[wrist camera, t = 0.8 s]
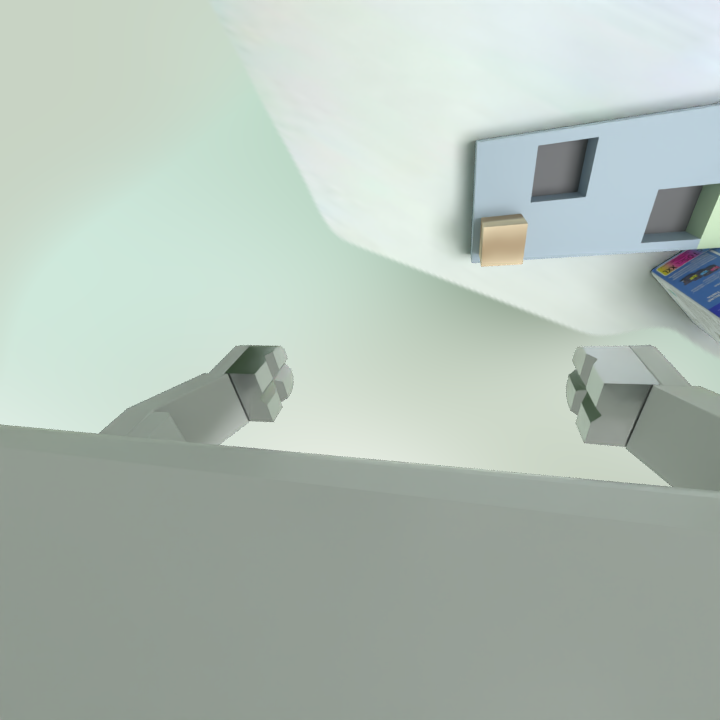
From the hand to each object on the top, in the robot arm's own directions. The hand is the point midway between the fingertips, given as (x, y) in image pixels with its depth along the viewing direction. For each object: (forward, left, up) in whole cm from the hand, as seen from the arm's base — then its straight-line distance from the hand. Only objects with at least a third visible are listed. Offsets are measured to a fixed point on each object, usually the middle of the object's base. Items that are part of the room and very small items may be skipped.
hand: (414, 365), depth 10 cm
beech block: (+6, +6, -32) cm, 33 cm away
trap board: (+3, +18, -35) cm, 40 cm away
